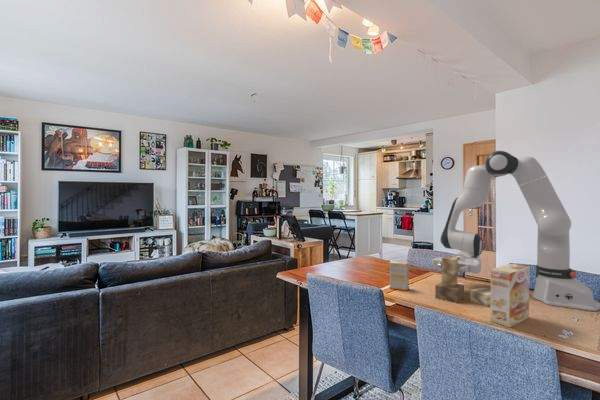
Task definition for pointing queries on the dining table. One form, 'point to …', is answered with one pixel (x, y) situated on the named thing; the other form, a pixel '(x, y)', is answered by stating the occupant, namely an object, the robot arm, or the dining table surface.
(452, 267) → the oak pillar
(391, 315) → the dining table surface
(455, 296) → the walnut block
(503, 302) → the coffeecake box
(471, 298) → the beech block
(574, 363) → the dining table surface
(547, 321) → the dining table surface
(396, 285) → the supplement box
